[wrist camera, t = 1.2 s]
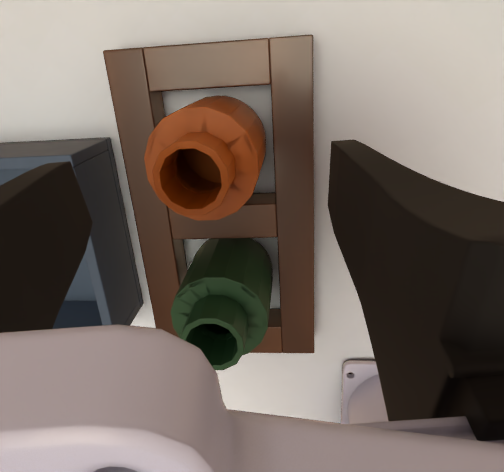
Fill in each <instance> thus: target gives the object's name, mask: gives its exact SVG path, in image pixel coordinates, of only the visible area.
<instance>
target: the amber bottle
mask: <svg viewBox="0 0 504 472" xmlns="http://www.w3.org/2000/svg"><path fill="white" fill-rule="evenodd" d="M265 153H266V135H265V131H264V128H263V125H262V123H261V121H260V119H259V117H258V116H257V115H256V113H255V112H254V111H253V110H252V109H251V108H250V107H249V106H248V105H246V104H245V103H243V102H242V101H240V100H238V99H235V98H232V97H228V96H211V97H205V98H203V99H201V100H199V101H197V102H194V103H192V104H190V105H188V106H186V107H184V108H181V109H180V110H178V111H176V112H174V113H172V114H170V115H168V116H166V117H164V118H163V119H162V120H161V121H160V122H159V124H158V125H157V126H156V128H155V129H154V130H153V132H152V133H151V134H150V136H149V139H148V143H147V147H146V152H145V156H144V160H145V166H146V172H147V178H148V181H149V183H150V185H151V186H152V188H153V190H154V191H155V193H156V195H157V196H158V198H159V199H160V200H161V201H162V202H163V203H164V204H166V206H167V207H169V208H170V209H172V210H173V211H174V212H175V213H177V214H180V215H183V216H185V217H188V218H191V219H194V220H219V219H221V218H224V217H226V216H228V215H231V214H233V213H235V212H237V211H238V210H239V209H240V208H241V207H242V206H243V205H244V204H245V203H246V202H247V201H248V200H249V199H250V197H251V196H252V194H253V191H254V188H255V185H256V183H257V180H258V177H259V174H260V170H261V167H262V164H263V160H264V157H265Z"/></svg>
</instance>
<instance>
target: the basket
mask: <svg viewBox="0 0 504 472" xmlns="http://www.w3.org/2000/svg"><path fill="white" fill-rule="evenodd" d="M68 161H70V162H71V165H72V167H73V170H74V173H75V176H76V178H77V181H78V184H79V186H80V189H81V192H82V194H83V197H84V200H85V202H86V205H87V208H88V211H89V213H90V216H91V219H92V221H93V224H92V228H91V232H90V237H89V241H88V244H87V248H86V251H85V254H84V256H83V259H82V261H81V263H80V265H79V268H78V270H77V272H76V275H75V277H74V279H73V281H72V283H71V286H70V288H69V290H68V292H67V295H66V297H65V299H64V301H63V304H62V306H61V308H60V310H59V312H58V315H57V318H56V320H55V323H54V325H53V328H52V329H61V328H75V327H89V326H103V325H117V324H118V325H128V326H130V324H131V323H132V321H133V319H134V318H135V316H136V315H137V313H138V311H139V310H140V308H141V307H142V305H143V300H142V296H141V291H140V286H139V281H138V276H137V271H136V266H135V261H134V256H133V251H132V246H131V241H130V236H129V231H128V226H127V221H126V216H125V211H124V206H123V201H122V196H121V191H120V186H119V181H118V176H117V171H116V166H115V161H114V156H113V152H112V147H111V142H110V138H90V139H70V140H51V141H31V142H11V143H0V185H2V184H4V183H6V182H8V181H10V180H12V179H14V178H16V177H17V176H19V175H21V174H23V173H25V172H27V171H29V170H32V169H34V168H36V167H38V166H41V165H44V164H47V163H55V162H68Z"/></svg>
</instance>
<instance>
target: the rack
mask: <svg viewBox="0 0 504 472" xmlns="http://www.w3.org/2000/svg"><path fill="white" fill-rule="evenodd" d="M103 54H104V59H105V64H106V70H107V75H108V80H109V85H110V90H111V96H112V101H113V106H114V111H115V116H116V122H117V127H118V132H119V137H120V143H121V148H122V153H123V158H124V163H125V169H126V174H127V179H128V184H129V189H130V195H131V200H132V205H133V210H134V216H135V221H136V226H137V231H138V236H139V242H140V247H141V252H142V257H143V262H144V268H145V273H146V278H147V283H148V288H149V294H150V299H151V304H152V309H153V315H154V320H155V325H156V328H158V329H162V330H164V331H166V332H168V333H170V334H172V335H174V336H176V337H178V338H180V337H179V336H178V334H177V333H176V331H175V330H174V328H173V324H172V318H171V308H172V305H173V301H174V298H175V296H176V294H177V292H178V290H179V288H180V286H181V284H182V282H183V279H184V277H185V275H186V273H187V266H186V259H185V252H184V245H183V239H216V238H265V237H277V238H278V261H279V284H280V308H281V309H270V310H269V320H268V329H267V331H266V333H265V335H264V338H263V340H262V342H261V343H260V344H259V345H258V346H257V347H255V348H254V349H253V350H252V351H251V352H250V353H282V352H283V353H314V144H313V35H301V36H288V37H275V38H262V39H248V40H235V41H222V42H209V43H196V44H182V45H169V46H156V47H144V48H130V49H116V50H104V51H103ZM269 84H271V97H272V121H273V144H274V167H275V191H276V193H257V194H252V196H251V197H250V199H249V200H248V201H247V202H246V203H245V204H244V205H243V206H242V207H241V208H240V209H239V210H238V211H237V212H235V213H233V214H231V215H228V216H226V217H224V218H221V219H219V220H194V219H191V218H188V217H185V216H183V215H180V214H177V213H175V212H174V211H173V210H172V209H170V208H169V207H167V206H166V204H164V203H163V202H162V201H161V200H160V199H159V198H158V196H157V195H156V193H155V191H154V190H153V188H152V186H151V185H150V183H149V181H148V178H147V172H146V166H145V160H144V156H145V152H146V147H147V143H148V139H149V136H150V134H151V133H152V132H153V130H154V129H155V128H156V126H157V125H158V124H159V122H160V121H161V120H162V119H163V118H164V117H165V114H164V107H163V101H162V94H161V91H173V90H189V89H205V88H221V87H237V86H253V85H269Z"/></svg>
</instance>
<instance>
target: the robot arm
mask: <svg viewBox="0 0 504 472" xmlns="http://www.w3.org/2000/svg"><path fill="white" fill-rule="evenodd" d="M328 208H329V212H330V217H331V222H332V226H333V230H334V234H335V236H336V239H337V242H338V244H339V247H340V249H341V252H342V255H343V257H344V260H345V262H346V265H347V267H348V270H349V272H350V275H351V278H352V280H353V283H354V285H355V288H356V290H357V293H358V296H359V299H360V302H361V305H362V309H363V313H364V317H365V321H366V324H367V328H368V332H369V336H370V340H371V344H372V349H373V353H374V357H375V361H356V360H350V361H346V362H345V363H344V364H343V374H342V405H341V423H333V422H325V421H317V420H309V419H301V418H293V417H285V416H277V415H269V414H261V413H253V412H245V411H237V410H229V409H226V407H225V405H224V402H223V400H222V395H221V390H220V385H219V380H218V375H217V373H216V371H215V370H214V368H213V367H212V366H211V364H210V363H209V361H208V360H207V358H206V357H205V355H204V354H203V352H202V351H201V349H199V348H198V347H196V346H195V345H193V344H191V343H189V342H187V341H184V340H182V339H180V338H178V337H176V336H174V335H172V334H170V333H168V332H166V331H164V330H162V329H158V328H148V327H138V326H128V325H118V324H117V325H103V326H89V327H75V328H61V329H52V328H53V325H54V323H55V320H56V318H57V315H58V312H59V310H60V308H61V306H62V304H63V301H64V299H65V297H66V295H67V292H68V290H69V288H70V286H71V283H72V281H73V279H74V277H75V275H76V272H77V270H78V268H79V265H80V263H81V261H82V259H83V256H84V254H85V251H86V248H87V244H88V241H89V237H90V232H91V228H92V224H93V221H92V219H91V216H90V213H89V211H88V208H87V205H86V202H85V200H84V197H83V194H82V192H81V189H80V186H79V184H78V181H77V178H76V176H75V173H74V170H73V167H72V165H71V162H70V161H68V162H55V163H47V164H44V165H41V166H38V167H36V168H34V169H32V170H29V171H27V172H25V173H23V174H21V175H19V176H17V177H16V178H14V179H12V180H10V181H8V182H6V183H4V184H2V185H0V472H504V202H501V201H497V200H493V199H489V198H486V197H482V196H478V195H475V194H472V193H468V192H465V191H462V190H459V189H457V188H454V187H451V186H448V185H446V184H443V183H440V182H438V181H435V180H433V179H430V178H428V177H426V176H424V175H422V174H419V173H417V172H415V171H413V170H411V169H409V168H407V167H405V166H403V165H401V164H399V163H397V162H395V161H394V160H392V159H390V158H388V157H386V156H384V155H383V154H381V153H379V152H377V151H376V150H374V149H372V148H370V147H368V146H367V145H365V144H363V143H361V142H359V141H356V140H343V141H331V157H330V175H329V194H328ZM348 373H353V374H348Z"/></svg>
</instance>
